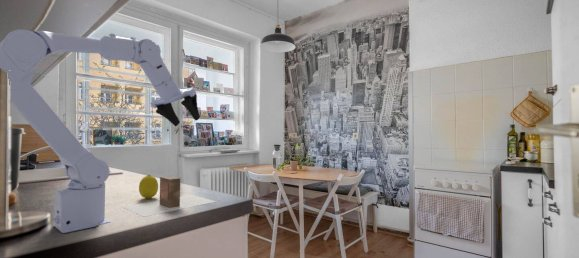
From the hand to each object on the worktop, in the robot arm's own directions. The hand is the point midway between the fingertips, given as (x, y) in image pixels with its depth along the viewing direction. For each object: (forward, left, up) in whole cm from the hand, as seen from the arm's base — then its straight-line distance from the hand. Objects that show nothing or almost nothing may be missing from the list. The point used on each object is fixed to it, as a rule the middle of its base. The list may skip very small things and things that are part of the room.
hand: (187, 121), depth 90 cm
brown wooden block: (-5, +1, -24) cm, 25 cm away
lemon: (-5, +13, -25) cm, 29 cm away
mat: (-4, +2, -25) cm, 25 cm away
